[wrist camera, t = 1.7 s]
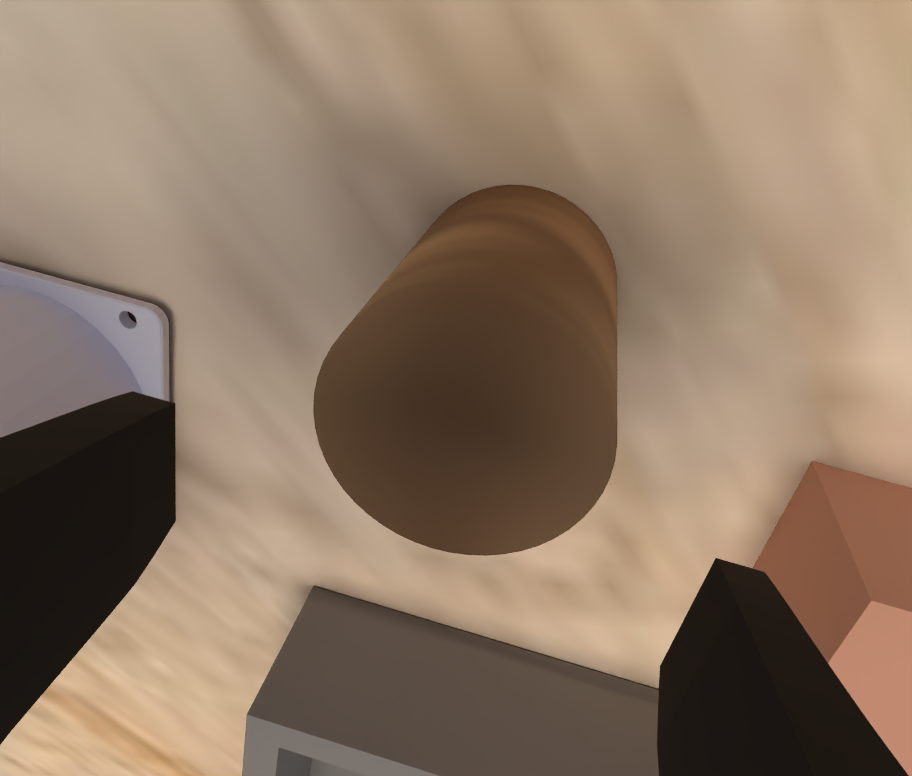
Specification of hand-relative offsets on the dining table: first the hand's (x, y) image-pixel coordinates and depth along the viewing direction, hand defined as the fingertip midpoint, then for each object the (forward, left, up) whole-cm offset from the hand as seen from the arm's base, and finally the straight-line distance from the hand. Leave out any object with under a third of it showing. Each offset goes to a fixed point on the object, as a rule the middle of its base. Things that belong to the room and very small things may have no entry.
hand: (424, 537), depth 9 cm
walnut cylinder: (0, 0, -10) cm, 10 cm away
